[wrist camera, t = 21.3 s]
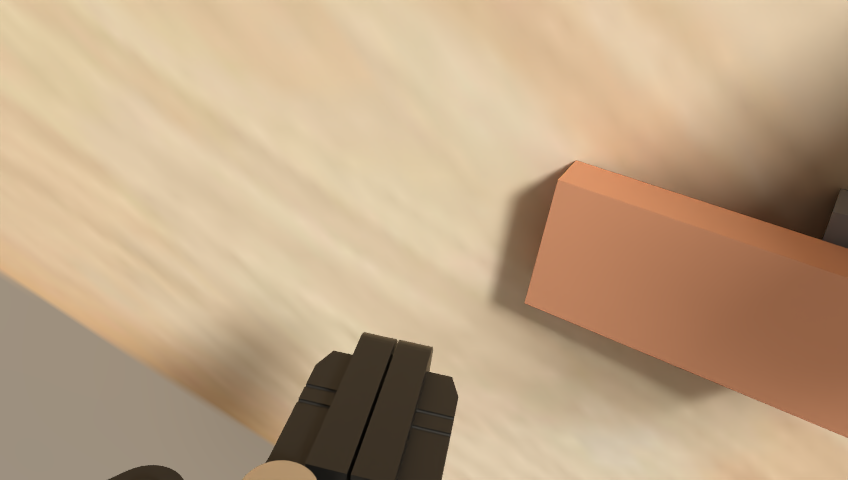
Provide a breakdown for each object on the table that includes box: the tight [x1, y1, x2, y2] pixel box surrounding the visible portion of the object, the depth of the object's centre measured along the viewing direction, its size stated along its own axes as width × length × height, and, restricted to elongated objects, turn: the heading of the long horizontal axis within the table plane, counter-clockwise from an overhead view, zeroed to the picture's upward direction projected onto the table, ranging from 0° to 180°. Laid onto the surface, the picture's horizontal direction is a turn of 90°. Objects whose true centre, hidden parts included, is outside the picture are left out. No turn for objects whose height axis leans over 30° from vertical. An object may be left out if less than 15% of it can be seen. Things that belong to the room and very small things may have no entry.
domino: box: [525, 160, 848, 438], centre depth 21 cm, size 2×5×11 cm
